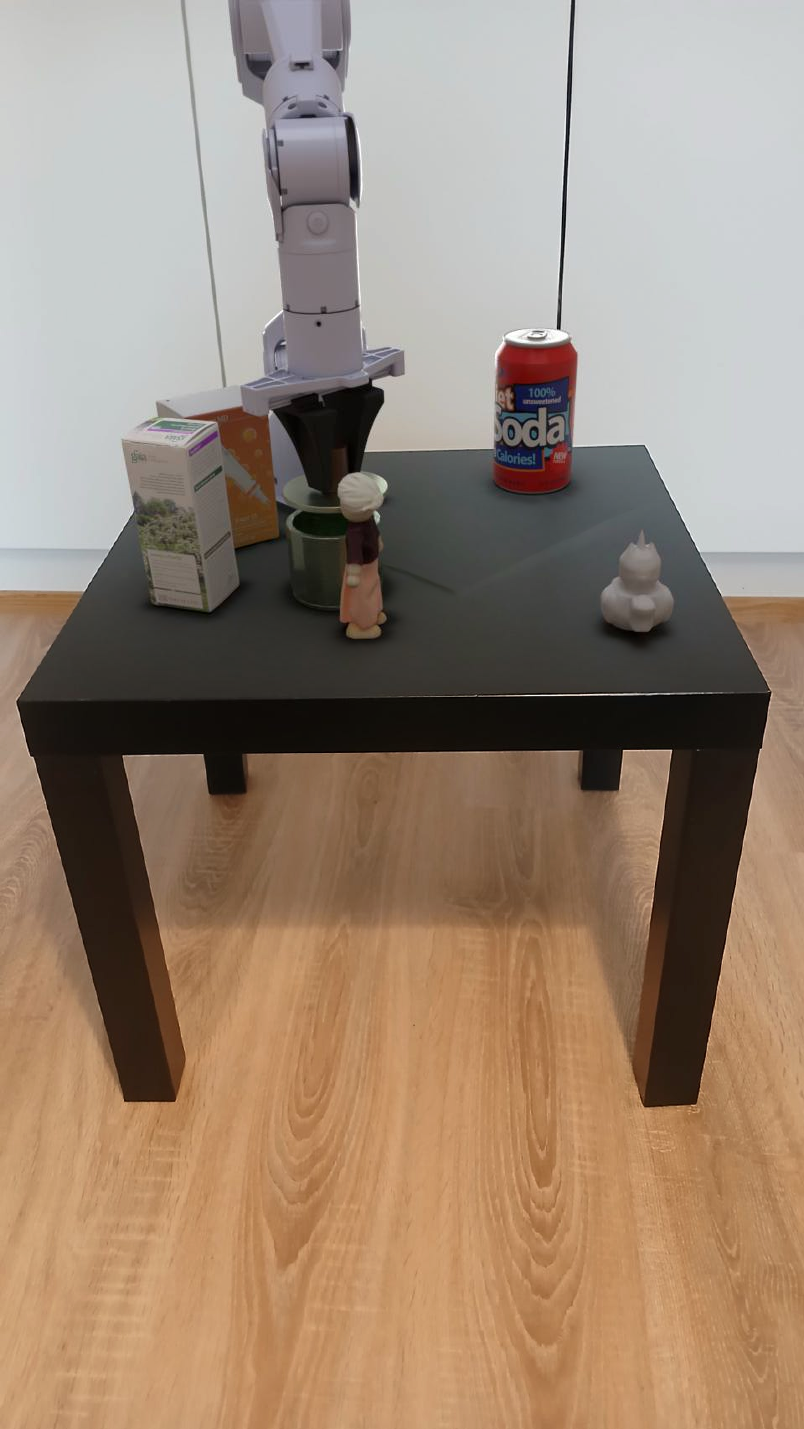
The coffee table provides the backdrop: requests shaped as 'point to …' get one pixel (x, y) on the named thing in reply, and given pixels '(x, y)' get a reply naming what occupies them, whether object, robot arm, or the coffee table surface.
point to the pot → (320, 557)
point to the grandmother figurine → (361, 557)
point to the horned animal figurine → (637, 591)
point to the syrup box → (182, 512)
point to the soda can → (534, 410)
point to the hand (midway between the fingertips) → (333, 483)
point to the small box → (237, 458)
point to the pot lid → (329, 502)
